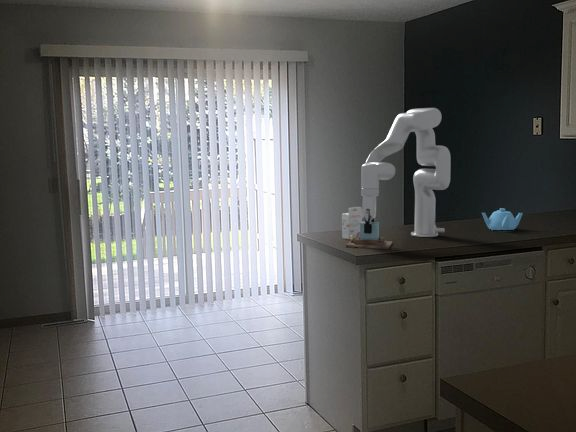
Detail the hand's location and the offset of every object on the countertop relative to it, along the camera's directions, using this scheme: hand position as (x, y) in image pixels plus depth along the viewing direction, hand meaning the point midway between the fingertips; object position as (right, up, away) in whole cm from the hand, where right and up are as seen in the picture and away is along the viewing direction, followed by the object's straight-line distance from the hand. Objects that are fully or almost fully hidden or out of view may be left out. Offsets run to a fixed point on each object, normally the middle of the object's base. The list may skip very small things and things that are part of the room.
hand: (369, 231), depth 276 cm
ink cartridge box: (-6, -4, +21) cm, 22 cm away
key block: (0, -5, 0) cm, 5 cm away
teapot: (+72, 0, +44) cm, 84 cm away
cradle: (0, -6, +1) cm, 6 cm away
